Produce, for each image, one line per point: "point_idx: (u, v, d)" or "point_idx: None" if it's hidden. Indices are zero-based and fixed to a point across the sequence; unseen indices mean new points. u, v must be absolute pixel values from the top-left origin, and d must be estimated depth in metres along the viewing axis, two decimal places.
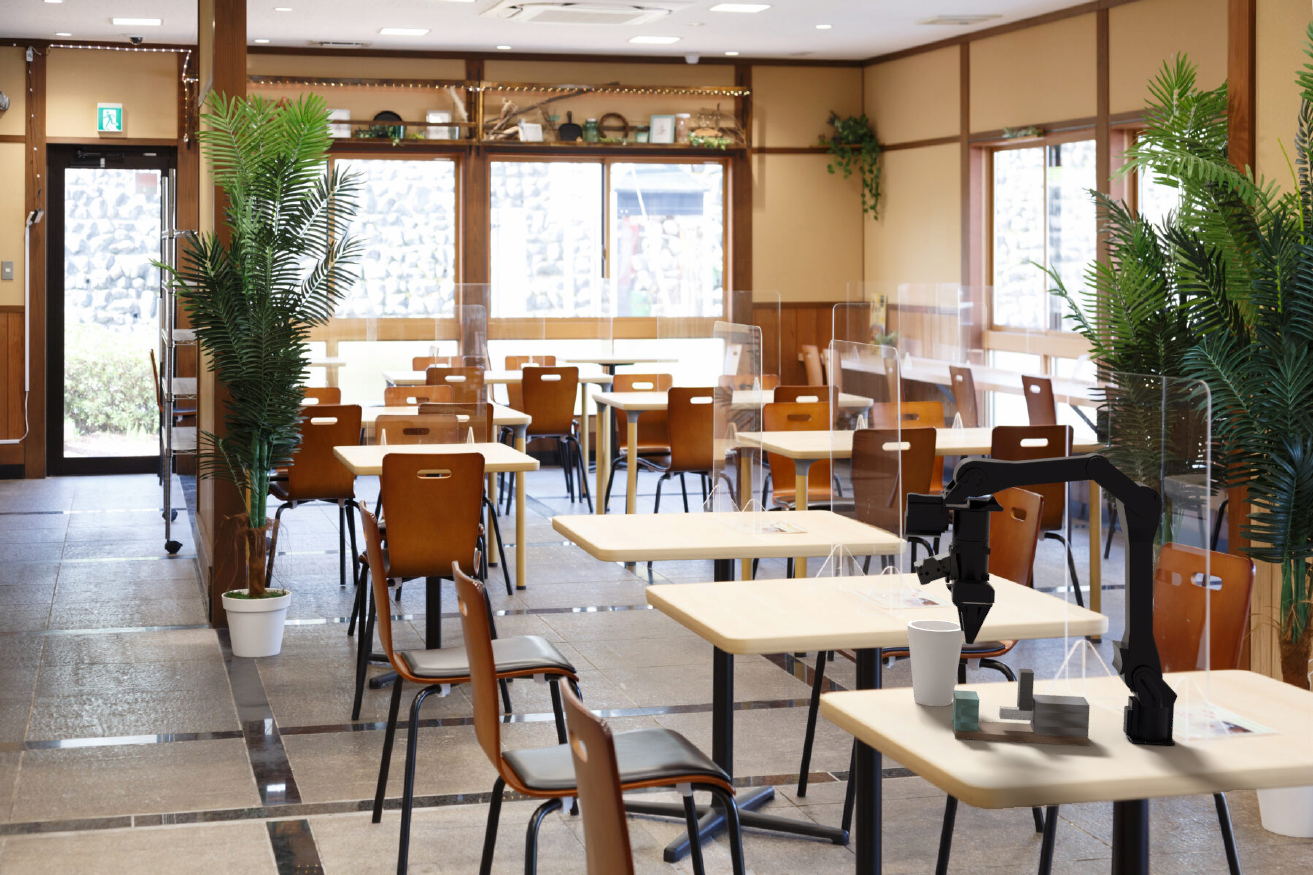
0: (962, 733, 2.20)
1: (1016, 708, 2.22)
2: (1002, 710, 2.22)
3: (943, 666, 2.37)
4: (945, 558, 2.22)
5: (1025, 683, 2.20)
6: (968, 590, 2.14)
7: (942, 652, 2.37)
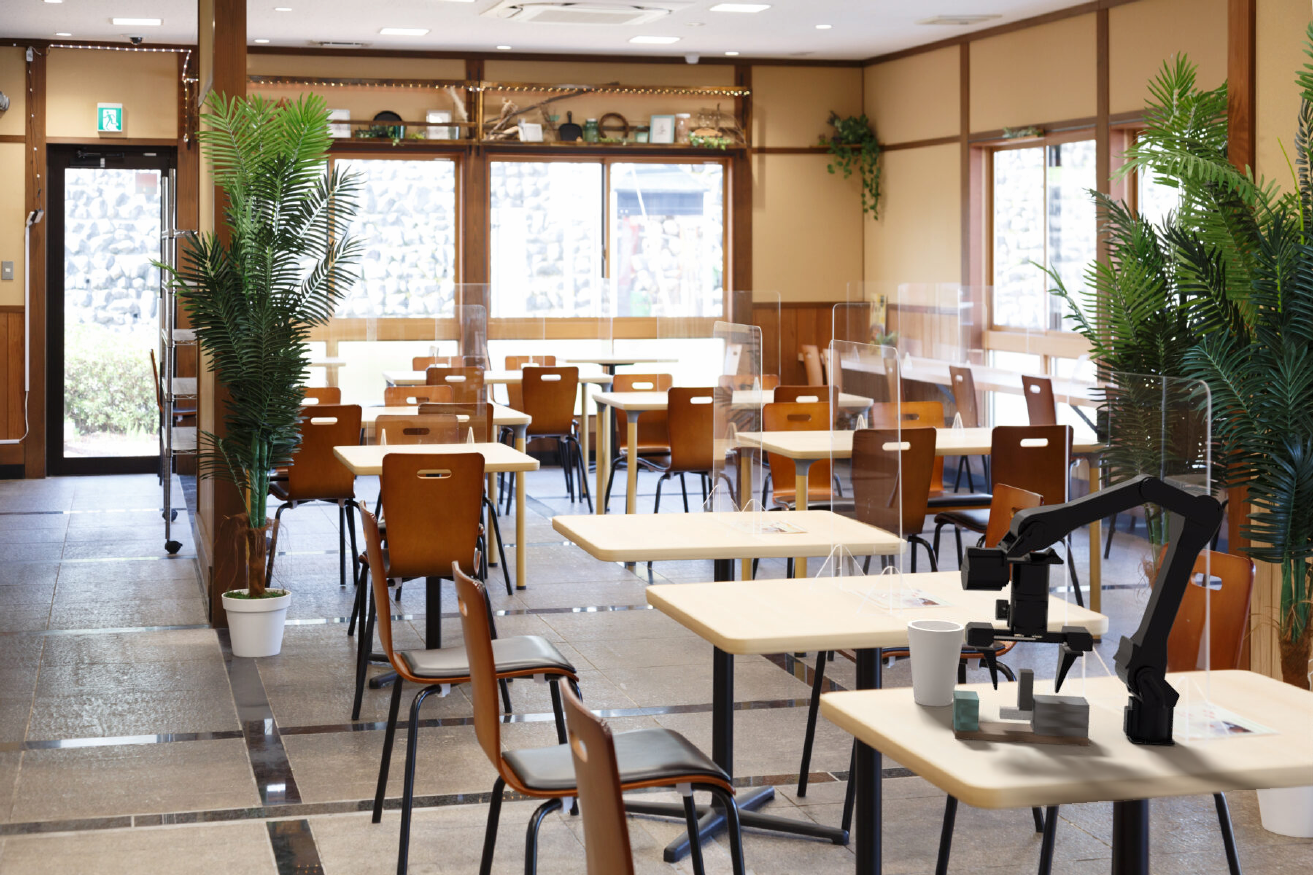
0: (962, 733, 2.20)
1: (1016, 708, 2.22)
2: (1002, 710, 2.22)
3: (943, 666, 2.37)
4: None
5: (1025, 683, 2.20)
6: (966, 629, 2.23)
7: (942, 652, 2.37)
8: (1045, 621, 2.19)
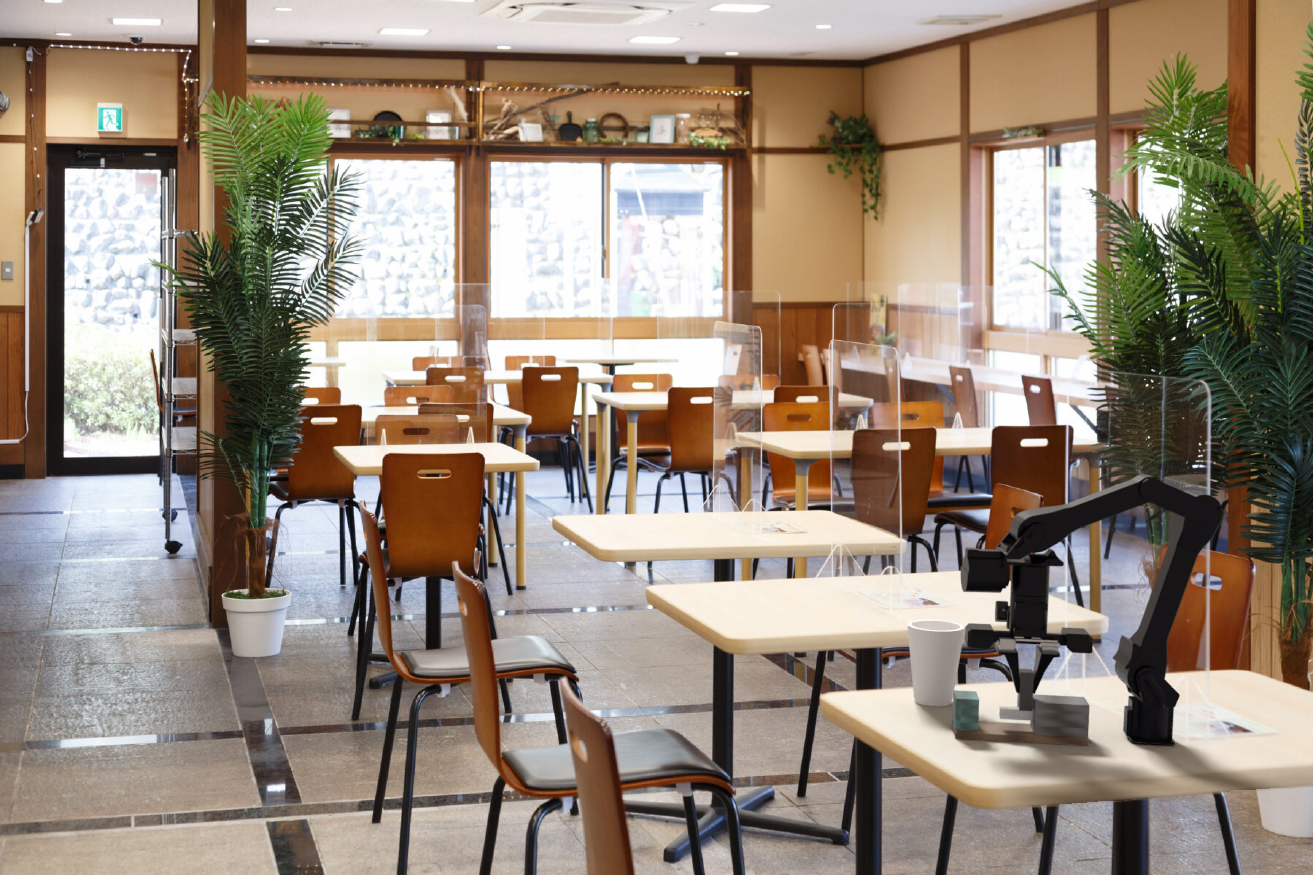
0: (962, 733, 2.20)
1: (1016, 708, 2.22)
2: (1002, 710, 2.22)
3: (943, 666, 2.37)
4: None
5: (1025, 683, 2.20)
6: (965, 631, 2.23)
7: (942, 652, 2.37)
8: (1045, 623, 2.19)
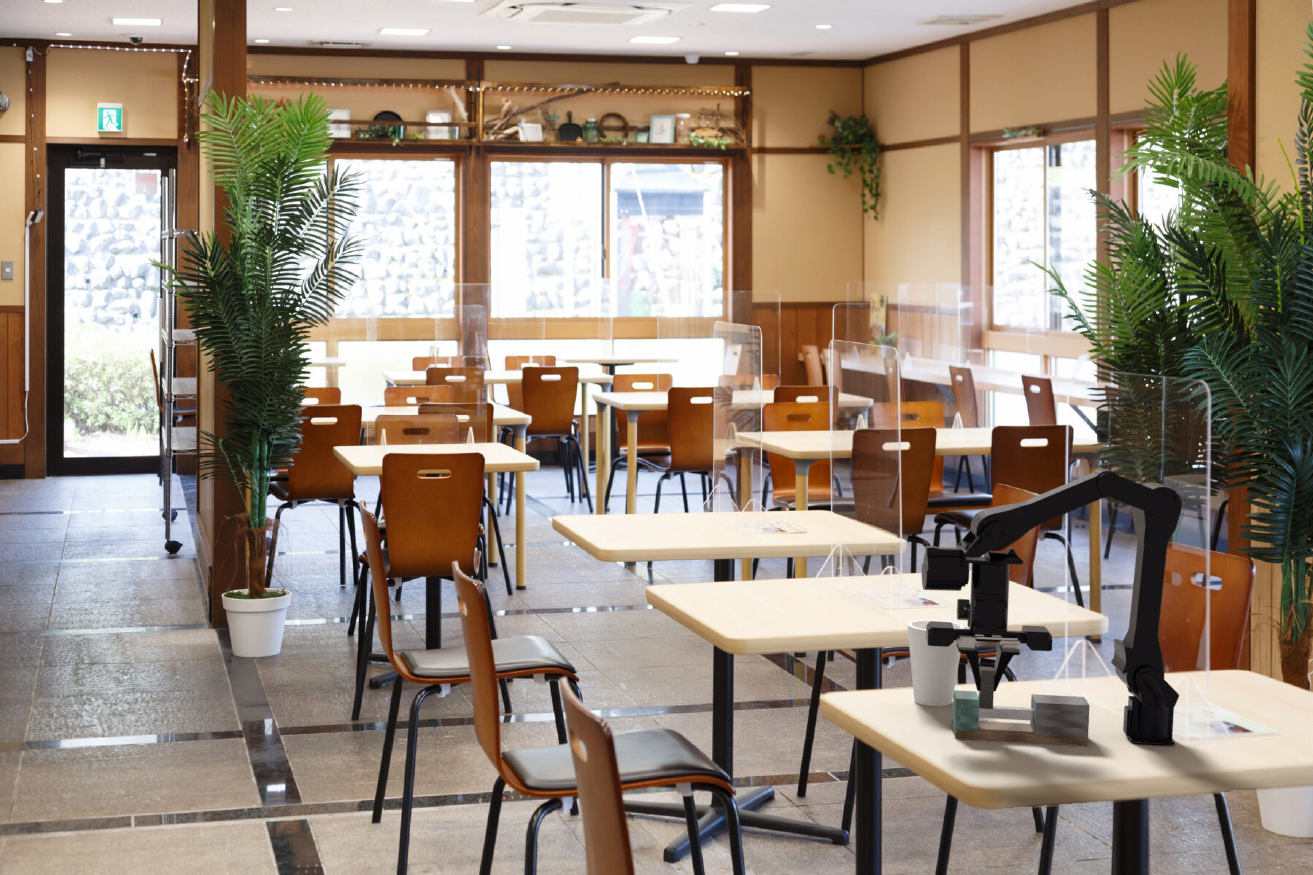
0: (962, 733, 2.20)
1: None
2: None
3: (943, 666, 2.37)
4: None
5: (985, 681, 2.21)
6: None
7: (942, 652, 2.37)
8: (1005, 621, 2.20)
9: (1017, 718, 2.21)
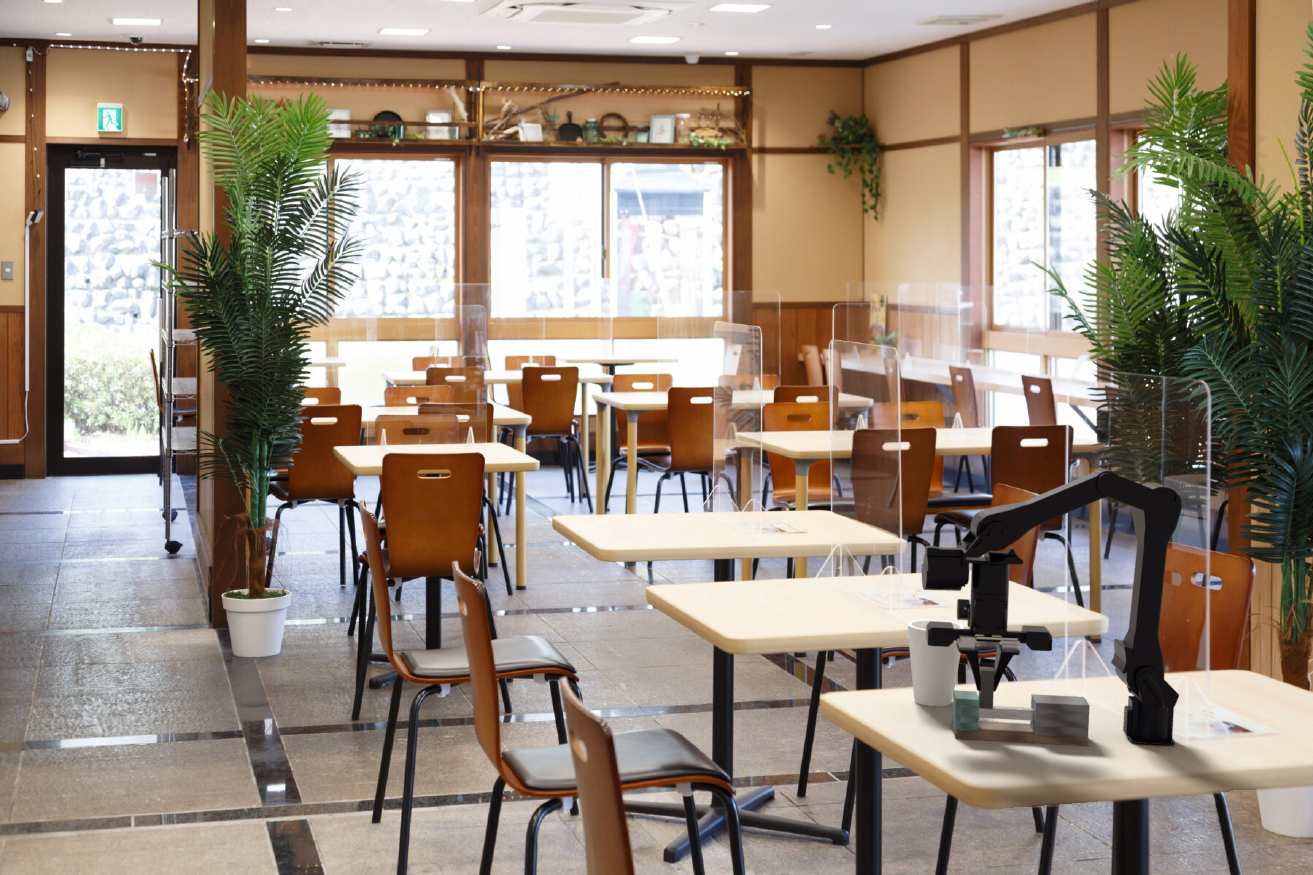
0: (962, 733, 2.20)
1: None
2: None
3: (943, 666, 2.37)
4: None
5: (985, 681, 2.21)
6: None
7: (942, 652, 2.37)
8: (1005, 621, 2.20)
9: (1017, 718, 2.21)
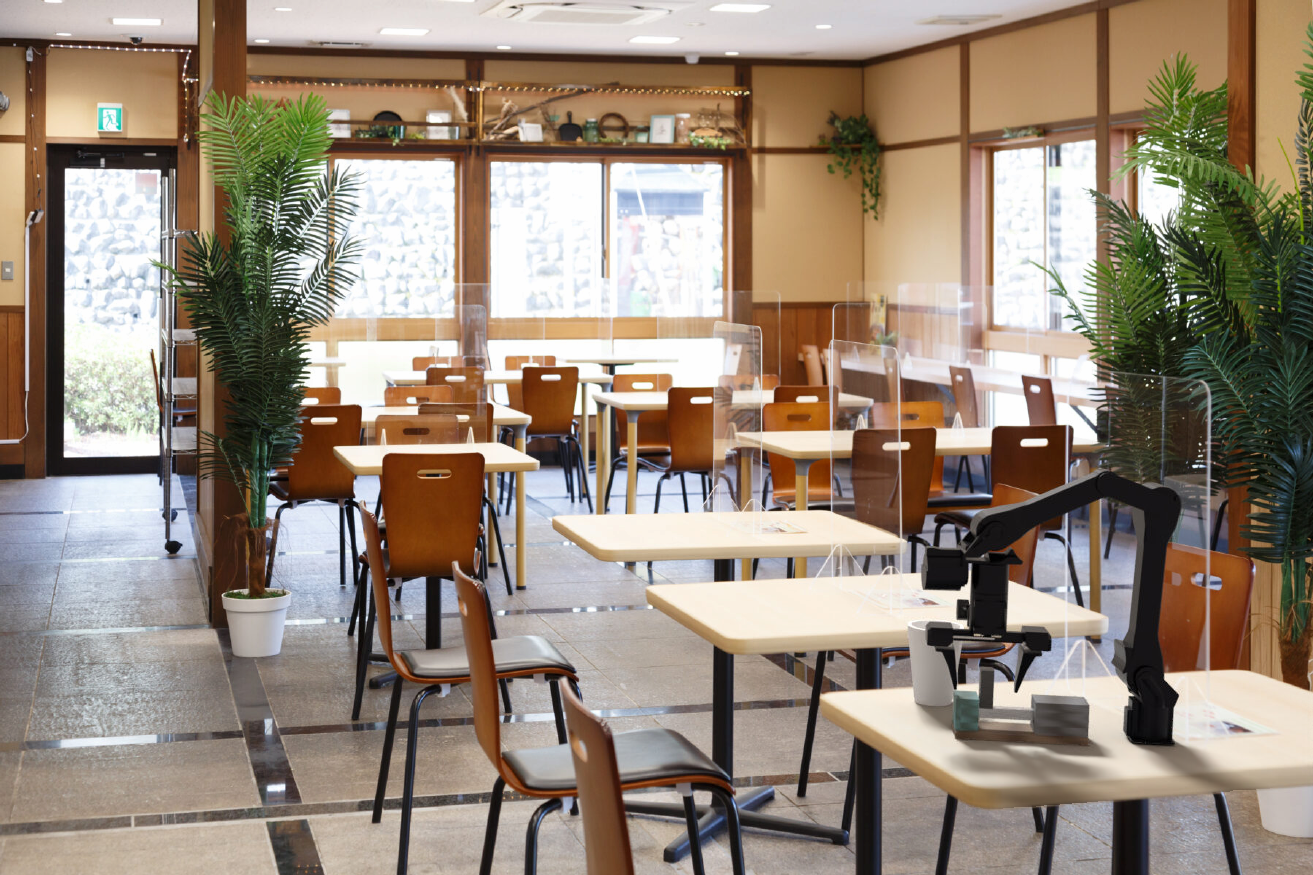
0: (962, 733, 2.20)
1: None
2: None
3: (943, 666, 2.37)
4: None
5: (985, 681, 2.21)
6: (926, 629, 2.24)
7: None
8: (1004, 621, 2.20)
9: (1017, 718, 2.21)
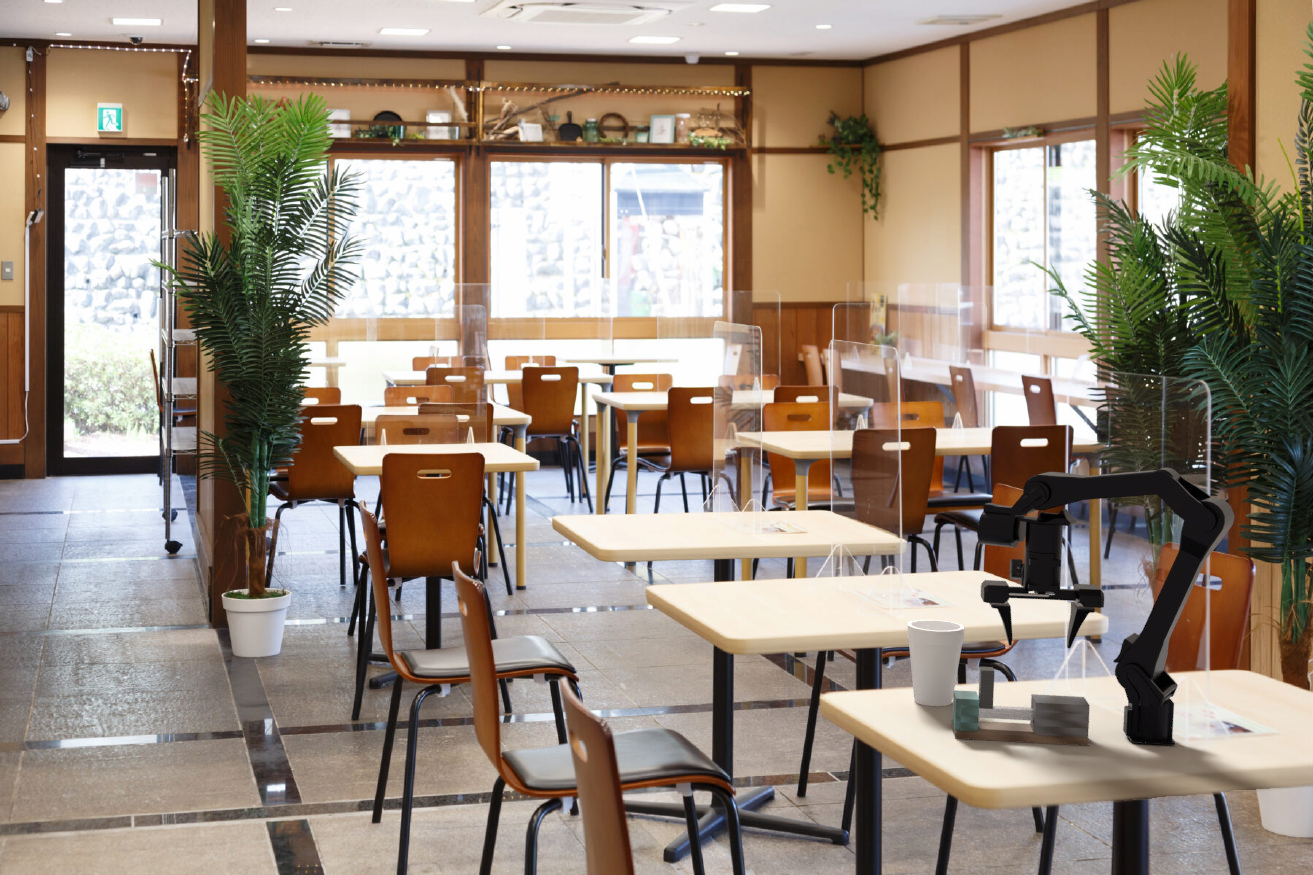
0: (962, 733, 2.20)
1: None
2: None
3: (943, 666, 2.37)
4: None
5: (985, 681, 2.21)
6: (981, 587, 2.32)
7: (942, 652, 2.37)
8: (1058, 579, 2.28)
9: (1017, 718, 2.21)
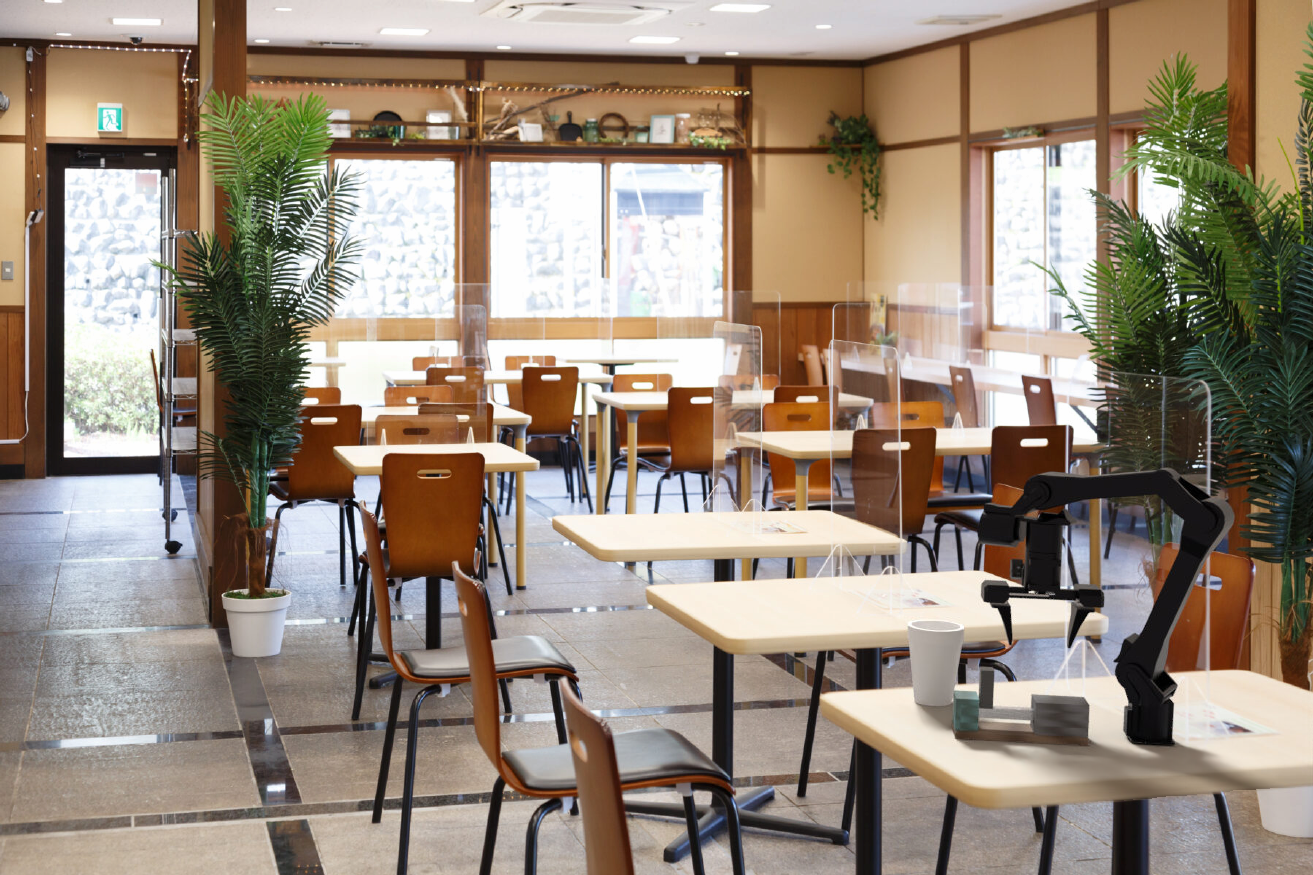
0: (962, 733, 2.20)
1: None
2: None
3: (943, 666, 2.37)
4: None
5: (985, 681, 2.21)
6: (982, 587, 2.32)
7: (942, 652, 2.37)
8: (1058, 578, 2.28)
9: (1017, 718, 2.21)
